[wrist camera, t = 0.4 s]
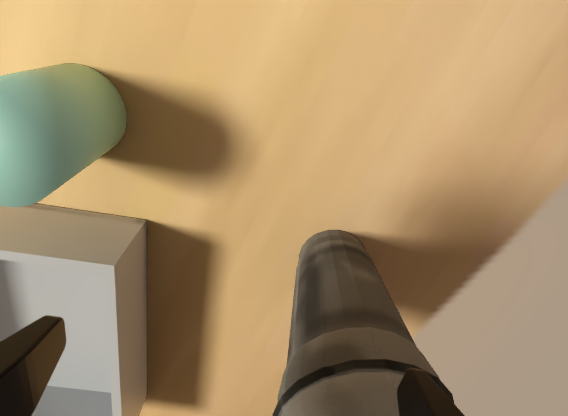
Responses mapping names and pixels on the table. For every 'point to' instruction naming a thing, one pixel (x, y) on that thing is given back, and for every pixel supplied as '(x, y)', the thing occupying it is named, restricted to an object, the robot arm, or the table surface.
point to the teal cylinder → (54, 128)
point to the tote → (80, 302)
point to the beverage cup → (345, 336)
